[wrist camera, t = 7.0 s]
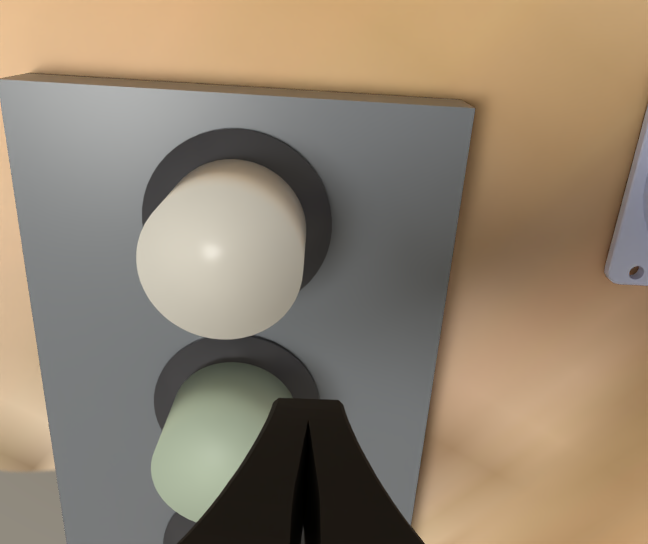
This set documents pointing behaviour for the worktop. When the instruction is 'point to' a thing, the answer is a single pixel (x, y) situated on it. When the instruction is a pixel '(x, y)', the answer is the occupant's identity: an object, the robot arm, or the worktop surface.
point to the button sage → (211, 433)
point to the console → (259, 350)
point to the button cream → (224, 250)
